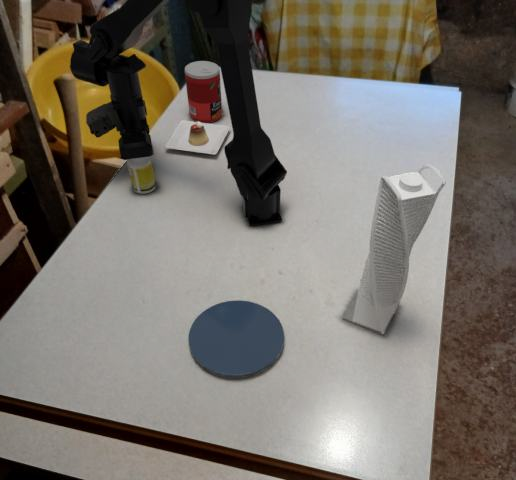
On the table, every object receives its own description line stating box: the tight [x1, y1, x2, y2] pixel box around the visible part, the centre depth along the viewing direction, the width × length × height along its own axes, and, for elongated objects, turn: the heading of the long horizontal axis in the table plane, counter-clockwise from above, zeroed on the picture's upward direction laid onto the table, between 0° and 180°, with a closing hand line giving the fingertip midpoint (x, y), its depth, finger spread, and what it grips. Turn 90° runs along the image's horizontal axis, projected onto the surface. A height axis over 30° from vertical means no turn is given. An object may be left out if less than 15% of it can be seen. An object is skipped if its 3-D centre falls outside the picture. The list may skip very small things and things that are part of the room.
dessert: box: [164, 119, 231, 156], centre depth 114 cm, size 12×12×5 cm
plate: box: [187, 299, 285, 379], centre depth 80 cm, size 15×15×1 cm
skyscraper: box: [342, 163, 447, 336], centre depth 72 cm, size 8×8×28 cm
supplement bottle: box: [126, 156, 157, 195], centre depth 102 cm, size 5×5×8 cm
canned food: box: [184, 60, 223, 124], centre depth 118 cm, size 8×8×11 cm
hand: (141, 165), depth 108 cm, fingers closed
